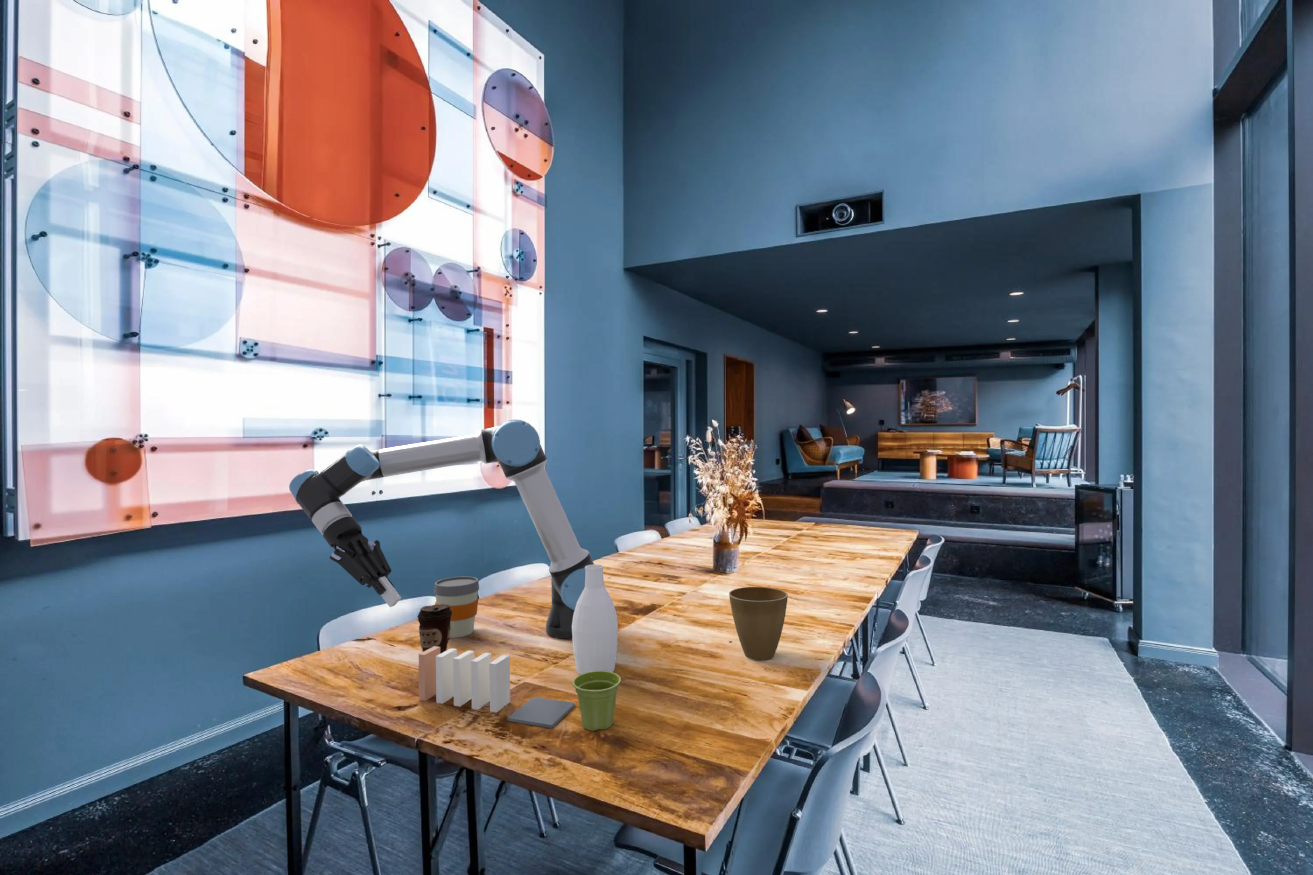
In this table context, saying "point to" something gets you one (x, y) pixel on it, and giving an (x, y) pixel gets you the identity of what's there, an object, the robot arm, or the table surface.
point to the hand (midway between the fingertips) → (395, 602)
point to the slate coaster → (541, 712)
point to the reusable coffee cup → (459, 602)
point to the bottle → (594, 625)
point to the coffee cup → (435, 626)
